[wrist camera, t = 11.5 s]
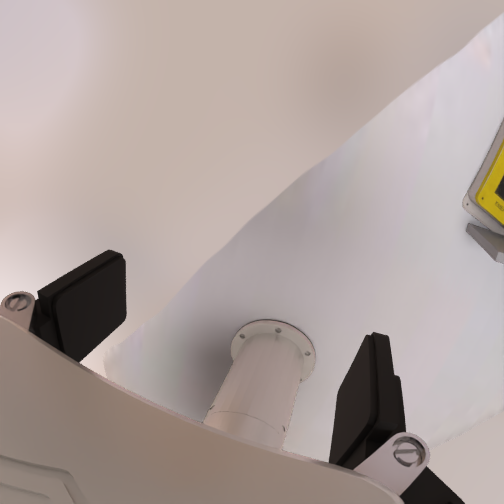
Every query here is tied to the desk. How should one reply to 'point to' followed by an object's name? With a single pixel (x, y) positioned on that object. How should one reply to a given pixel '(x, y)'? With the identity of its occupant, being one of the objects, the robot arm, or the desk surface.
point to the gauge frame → (488, 241)
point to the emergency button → (489, 188)
